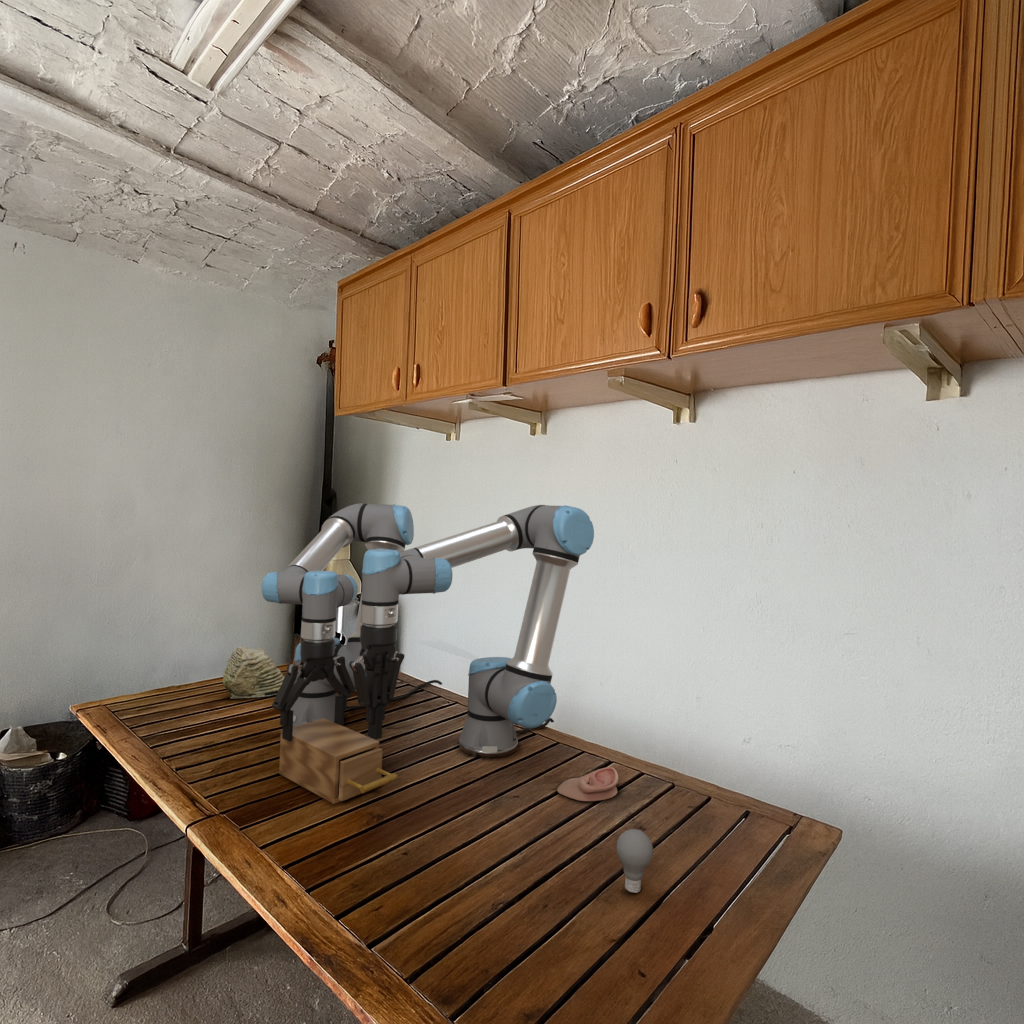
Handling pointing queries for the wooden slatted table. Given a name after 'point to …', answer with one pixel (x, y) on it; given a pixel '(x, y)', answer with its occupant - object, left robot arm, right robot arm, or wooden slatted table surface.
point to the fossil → (251, 674)
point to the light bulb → (634, 857)
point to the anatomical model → (591, 785)
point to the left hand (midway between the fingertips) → (314, 731)
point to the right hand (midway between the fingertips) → (374, 736)
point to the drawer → (362, 773)
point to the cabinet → (320, 755)
